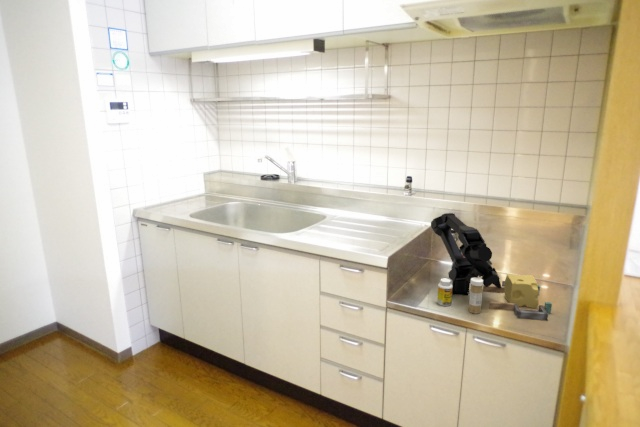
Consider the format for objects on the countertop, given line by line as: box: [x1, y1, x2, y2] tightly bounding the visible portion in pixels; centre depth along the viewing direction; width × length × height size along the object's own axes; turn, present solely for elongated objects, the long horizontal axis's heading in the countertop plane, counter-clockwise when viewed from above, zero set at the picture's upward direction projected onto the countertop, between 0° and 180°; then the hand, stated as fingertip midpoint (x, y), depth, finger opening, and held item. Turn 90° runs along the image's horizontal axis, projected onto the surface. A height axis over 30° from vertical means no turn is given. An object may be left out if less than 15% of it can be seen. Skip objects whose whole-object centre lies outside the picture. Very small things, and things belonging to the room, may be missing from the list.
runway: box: [482, 280, 553, 321], centre depth 171 cm, size 22×29×4 cm
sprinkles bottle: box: [468, 277, 484, 315], centre depth 162 cm, size 5×5×13 cm
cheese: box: [504, 274, 540, 309], centre depth 170 cm, size 10×11×10 cm
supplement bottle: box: [436, 277, 453, 307], centre depth 170 cm, size 6×6×10 cm
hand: (500, 287), depth 170 cm, fingers closed
